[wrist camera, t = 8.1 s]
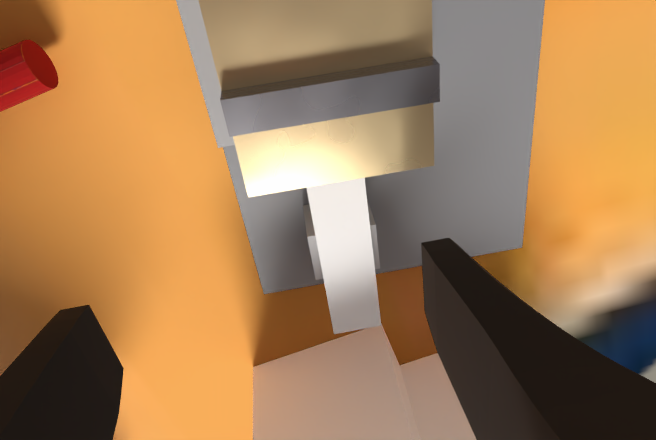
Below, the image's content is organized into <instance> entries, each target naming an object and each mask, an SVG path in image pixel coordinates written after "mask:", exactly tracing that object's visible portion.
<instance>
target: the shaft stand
mask: <svg viewBox="0 0 656 440" xmlns="http://www.w3.org/2000/svg"><path fill="white" fill-rule="evenodd" d="M176 1H177V5H178V8H179V12H180V15H181V19H182V22H183V26H184V30H185V33H186V37H187V40H188V44H189V47H190V51H191V54H192V58H193V61H194V65H195V68H196V72H197V75H198V79H199V82H200V86H201V89H202V93H203V96H204V100H205V103H206V107H207V110H208V114H209V117H210V121H211V124H212V128H213V131H214V135H215V138H216V142H217V145H218V148H220V147H223V149H224V153H225V156H226V160H227V163H228V167H229V171H230V174H231V178H232V181H233V185H234V189H235V192H236V196H237V199H238V203H239V206H240V210H241V214H242V217H243V221H244V224H245V228H246V231H247V235H248V239H249V242H250V246H251V249H252V253H253V256H254V260H255V264H256V267H257V271H258V274H259V278H260V282H261V285H262V289H263V292H264V294H268V293H274V292H279V291H285V290H291V289H296V288H302V287H307V286H313V285H318V284H325V289H326V295H327V300H328V305H329V310H330V316H331V321H332V326H333V332H334V334H338V333H344V332H349V331H354V330H360V329H365V328H371V327H376V326H381V318H380V309H379V301H378V292H377V283H376V274H379V273H384V272H390V271H395V270H401V269H406V268H412V267H417V266H422V251H421V243H422V242H428V241H433V240H438V239H444V238H450V239H452V240H453V241H454V242H455V243H456V244H458V245H459V246H460V247H461V248H462V249H463V250H464V251H465V252H466V253H467V254H468V255H469V256H470V257H473V256H478V255H484V254H489V253H495V252H500V251H506V250H511V249H517V248H522V244H523V233H524V222H525V211H526V200H527V189H528V178H529V167H530V157H531V146H532V135H533V124H534V113H535V102H536V91H537V80H538V69H539V58H540V47H541V36H542V26H543V15H544V4H545V0H432V41H433V57H434V58H435V59H436V60H437V62H438V63H439V64H440V102H436V103H433V110H434V166H430V167H424V168H418V169H412V170H406V171H400V172H395V173H389V174H383V175H377V176H371V177H365V178H359V179H353V180H347V181H341V182H336V183H330V184H324V185H318V186H312V187H306V188H300V189H294V190H288V191H282V192H276V193H271V194H265V195H259V196H253V197H248V195H247V191H246V187H245V183H244V179H243V175H242V171H241V167H240V163H239V159H238V155H237V151H236V147H235V143H234V139H233V136H232V137H229V133H228V129H227V125H226V121H225V118H224V114H223V110H222V106H221V102H220V97H221V88H220V84H219V80H218V76H217V72H216V68H215V64H214V60H213V56H212V52H211V48H210V44H209V40H208V36H207V32H206V28H205V25H204V21H203V17H202V13H201V9H200V5H199V1H198V0H176Z"/></svg>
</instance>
